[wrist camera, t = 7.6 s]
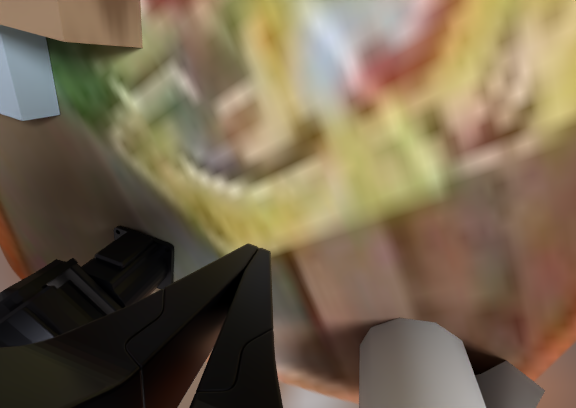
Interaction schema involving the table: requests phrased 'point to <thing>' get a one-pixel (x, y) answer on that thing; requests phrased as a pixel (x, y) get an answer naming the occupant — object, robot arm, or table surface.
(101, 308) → the robot arm
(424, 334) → the toilet tissue
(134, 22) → the block
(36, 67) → the pale grey long bar
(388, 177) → the table surface
